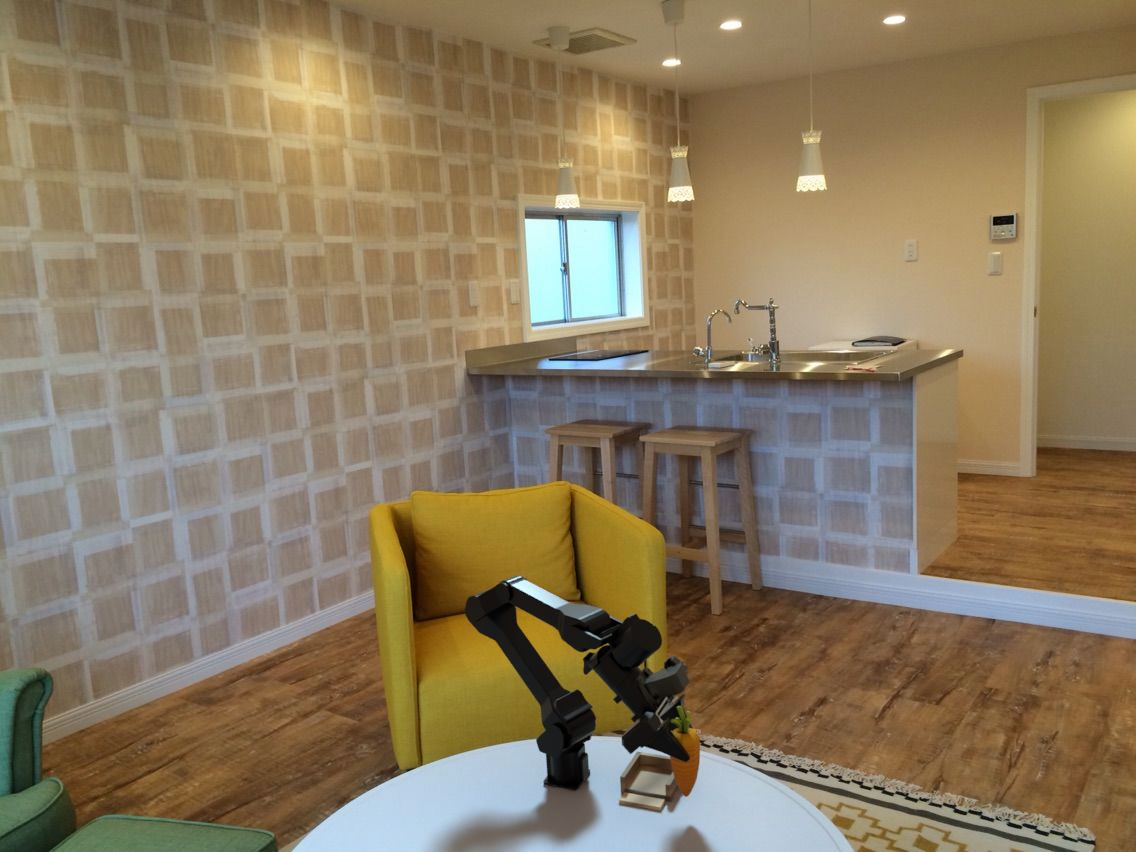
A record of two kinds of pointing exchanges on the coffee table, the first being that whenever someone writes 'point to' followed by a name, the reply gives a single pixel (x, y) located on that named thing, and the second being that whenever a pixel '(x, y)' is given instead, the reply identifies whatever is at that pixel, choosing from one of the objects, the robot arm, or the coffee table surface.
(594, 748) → the coffee table surface
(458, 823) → the coffee table surface
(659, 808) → the wooden tray
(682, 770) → the carrot
